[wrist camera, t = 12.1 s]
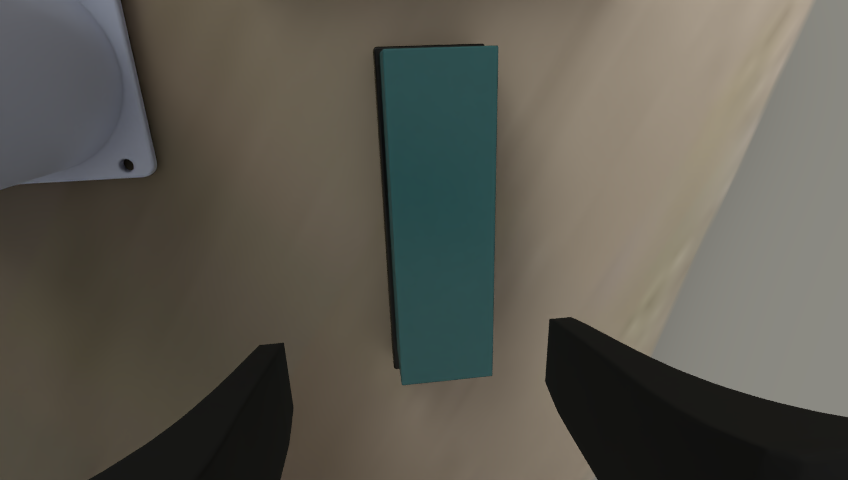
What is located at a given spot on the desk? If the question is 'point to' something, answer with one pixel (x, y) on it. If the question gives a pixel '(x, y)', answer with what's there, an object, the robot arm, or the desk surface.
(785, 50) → the desk surface
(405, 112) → the teal long block
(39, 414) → the desk surface
